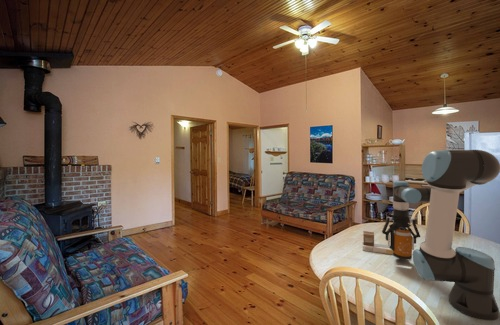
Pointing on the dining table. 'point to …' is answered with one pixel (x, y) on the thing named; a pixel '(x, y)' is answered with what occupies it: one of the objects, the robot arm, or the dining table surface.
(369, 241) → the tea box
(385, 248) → the shelf board
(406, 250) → the canister
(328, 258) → the dining table surface
